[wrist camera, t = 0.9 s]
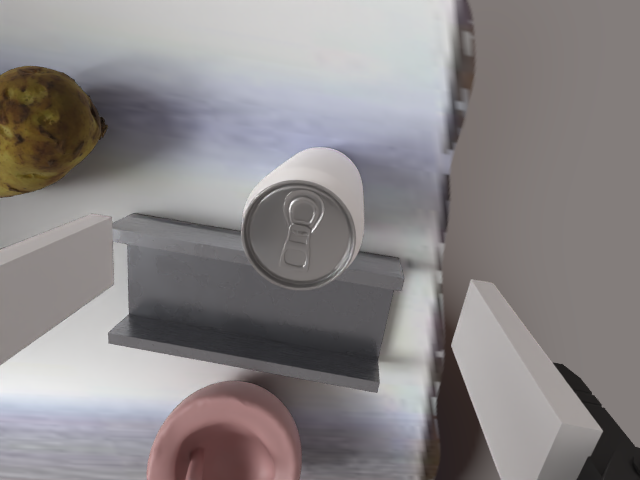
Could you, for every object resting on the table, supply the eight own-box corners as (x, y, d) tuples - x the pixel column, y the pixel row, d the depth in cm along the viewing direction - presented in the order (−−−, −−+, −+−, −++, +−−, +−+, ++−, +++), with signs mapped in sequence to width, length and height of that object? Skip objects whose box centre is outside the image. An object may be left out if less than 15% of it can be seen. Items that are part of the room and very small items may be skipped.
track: (135, 318, 36) (108, 343, 32) (133, 213, 32) (103, 227, 28) (375, 361, 35) (377, 392, 31) (399, 258, 31) (404, 278, 28)
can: (371, 154, 29) (378, 185, 18) (353, 236, 31) (350, 310, 20) (285, 138, 29) (239, 158, 18) (274, 220, 31) (225, 284, 20)
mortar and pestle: (326, 377, 36) (311, 495, 25) (289, 469, 40) (263, 604, 29) (201, 335, 36) (132, 435, 25) (177, 431, 40) (108, 553, 29)
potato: (-34, 86, 30) (-164, 80, 23) (121, 66, 29) (36, 51, 21) (4, 192, 33) (-101, 218, 25) (148, 178, 31) (81, 202, 24)
